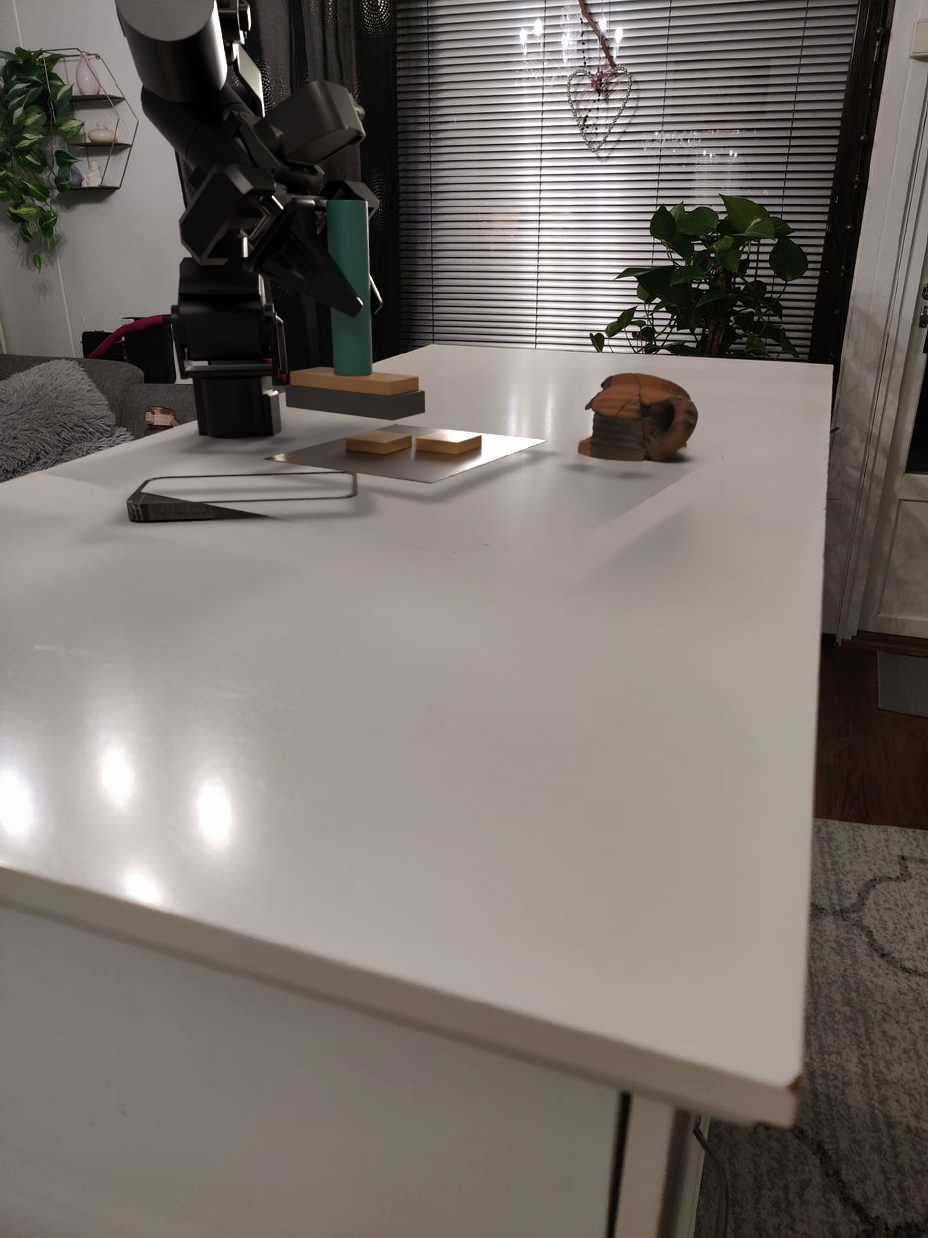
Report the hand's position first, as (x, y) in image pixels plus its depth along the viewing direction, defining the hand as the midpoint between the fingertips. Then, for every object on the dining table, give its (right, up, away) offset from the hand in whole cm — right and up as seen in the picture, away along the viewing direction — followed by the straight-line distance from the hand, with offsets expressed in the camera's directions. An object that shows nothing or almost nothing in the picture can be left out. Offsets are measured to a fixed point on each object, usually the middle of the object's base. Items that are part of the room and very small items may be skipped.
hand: (368, 310), depth 62 cm
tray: (+2, -9, +11) cm, 14 cm away
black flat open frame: (-8, -14, -1) cm, 16 cm away
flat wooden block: (0, -7, +11) cm, 13 cm away
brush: (-1, -6, +3) cm, 7 cm away
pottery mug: (+21, -9, +10) cm, 25 cm away
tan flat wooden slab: (+5, -7, +11) cm, 14 cm away
